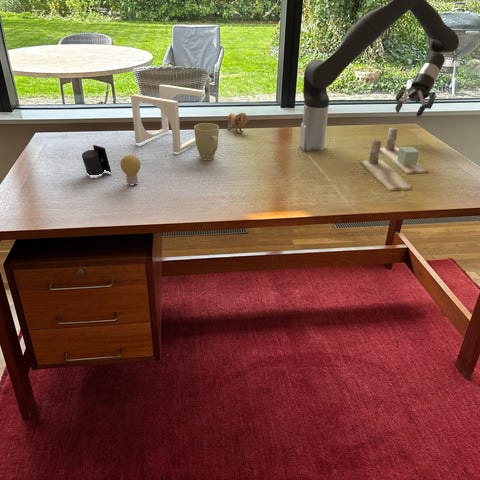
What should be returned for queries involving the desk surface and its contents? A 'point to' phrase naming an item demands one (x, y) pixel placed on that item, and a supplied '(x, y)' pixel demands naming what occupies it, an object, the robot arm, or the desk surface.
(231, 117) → the lion figurine
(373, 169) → the empty strip
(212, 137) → the mug
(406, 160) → the sage block
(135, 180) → the light bulb
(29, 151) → the desk surface
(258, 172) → the desk surface
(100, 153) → the speaker
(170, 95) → the cream frame stand
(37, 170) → the desk surface
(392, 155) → the block strip
